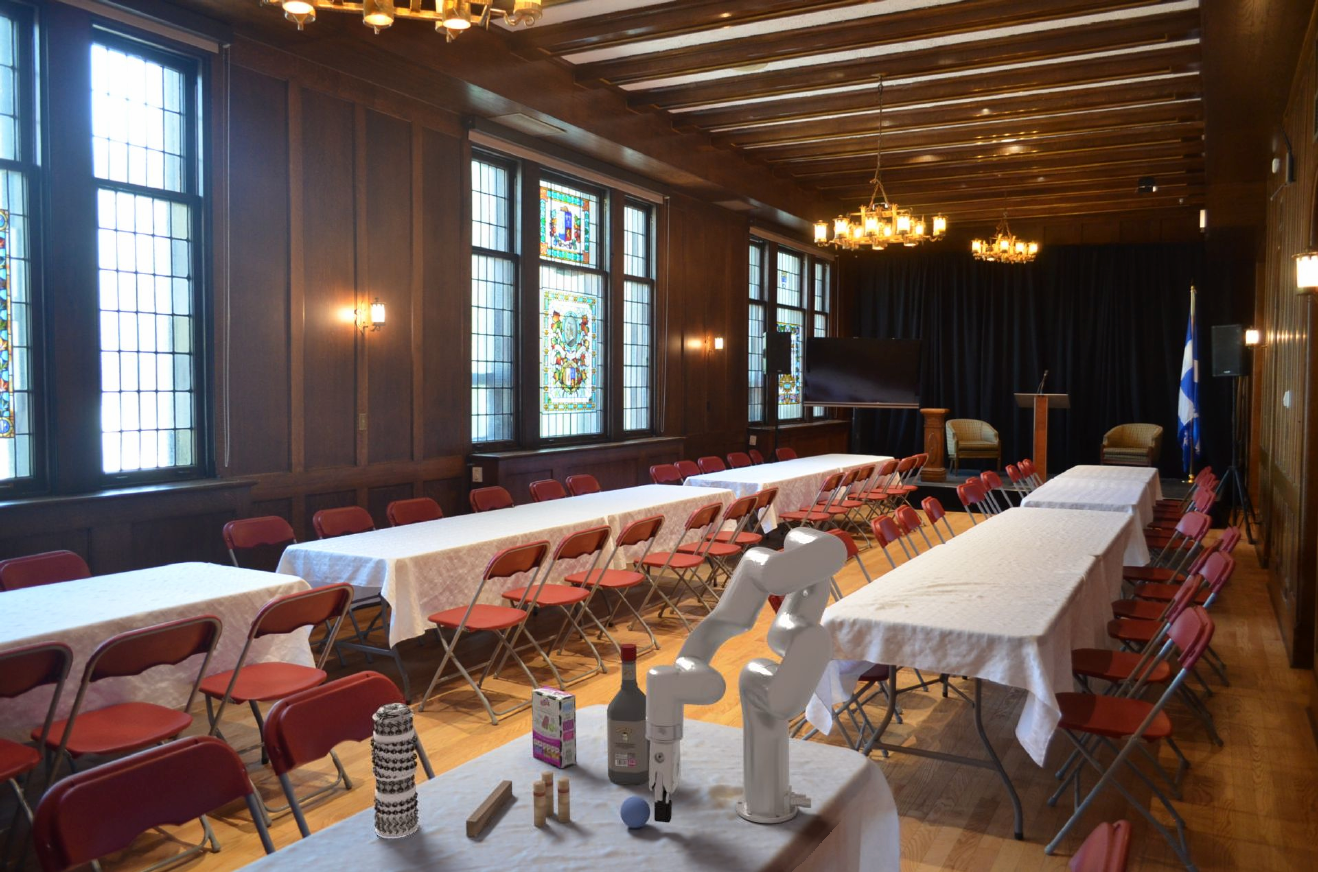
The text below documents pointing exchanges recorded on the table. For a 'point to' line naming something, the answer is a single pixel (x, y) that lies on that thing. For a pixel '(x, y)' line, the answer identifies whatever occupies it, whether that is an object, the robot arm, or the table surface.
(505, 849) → the table surface
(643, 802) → the ball
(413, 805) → the decorative candle
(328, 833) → the table surface
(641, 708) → the liquor
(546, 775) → the pin
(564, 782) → the front pin
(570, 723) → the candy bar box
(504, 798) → the rail
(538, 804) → the pin
